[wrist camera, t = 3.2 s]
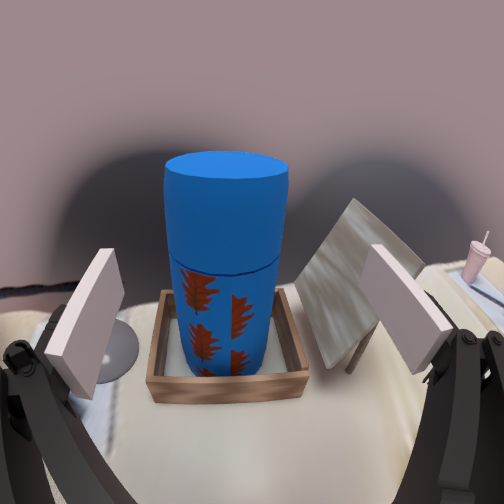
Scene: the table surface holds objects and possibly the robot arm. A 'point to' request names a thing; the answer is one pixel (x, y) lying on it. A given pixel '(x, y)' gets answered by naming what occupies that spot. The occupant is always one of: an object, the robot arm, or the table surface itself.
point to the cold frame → (317, 310)
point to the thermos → (224, 255)
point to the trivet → (118, 352)
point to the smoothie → (475, 260)
